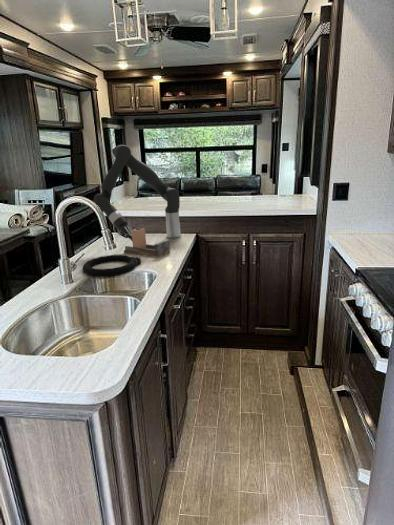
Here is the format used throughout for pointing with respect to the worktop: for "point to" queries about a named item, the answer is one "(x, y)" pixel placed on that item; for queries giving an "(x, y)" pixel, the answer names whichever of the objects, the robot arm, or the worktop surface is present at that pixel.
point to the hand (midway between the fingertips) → (135, 241)
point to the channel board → (150, 249)
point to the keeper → (139, 237)
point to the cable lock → (113, 271)
